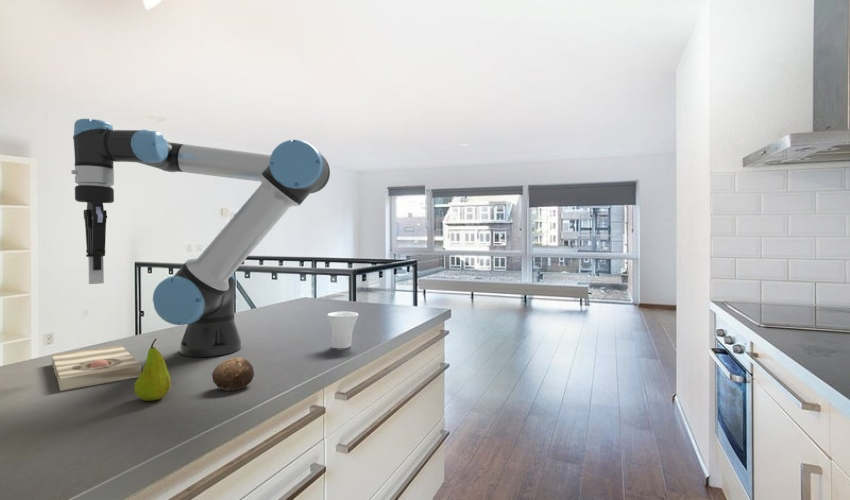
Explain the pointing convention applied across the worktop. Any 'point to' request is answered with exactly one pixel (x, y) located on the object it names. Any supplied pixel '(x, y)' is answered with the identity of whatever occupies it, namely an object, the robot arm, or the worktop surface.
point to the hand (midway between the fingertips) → (96, 283)
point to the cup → (342, 328)
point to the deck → (77, 371)
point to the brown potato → (233, 374)
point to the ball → (99, 363)
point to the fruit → (153, 377)
